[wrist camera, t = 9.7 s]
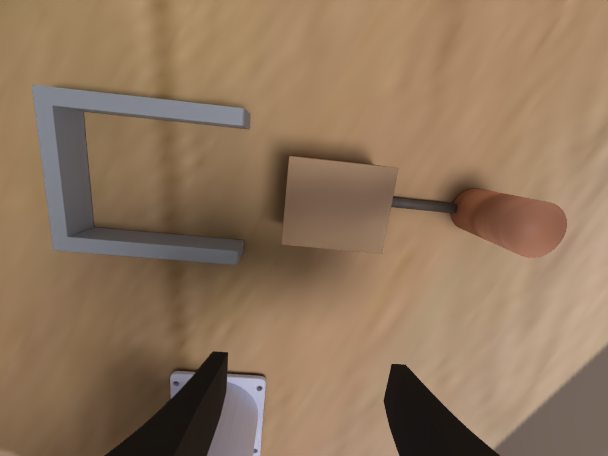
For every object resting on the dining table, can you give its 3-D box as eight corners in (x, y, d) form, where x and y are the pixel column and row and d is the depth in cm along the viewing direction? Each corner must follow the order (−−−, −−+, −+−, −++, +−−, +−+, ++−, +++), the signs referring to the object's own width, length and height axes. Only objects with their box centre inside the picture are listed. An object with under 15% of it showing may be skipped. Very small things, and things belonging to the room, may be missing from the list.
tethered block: (483, 242, 22) (550, 274, 16) (284, 223, 21) (280, 250, 15) (501, 178, 21) (581, 188, 15) (290, 155, 20) (288, 156, 14)
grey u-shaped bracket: (243, 252, 22) (236, 265, 19) (81, 239, 21) (53, 250, 19) (250, 114, 19) (243, 108, 17) (65, 93, 18) (31, 84, 16)
